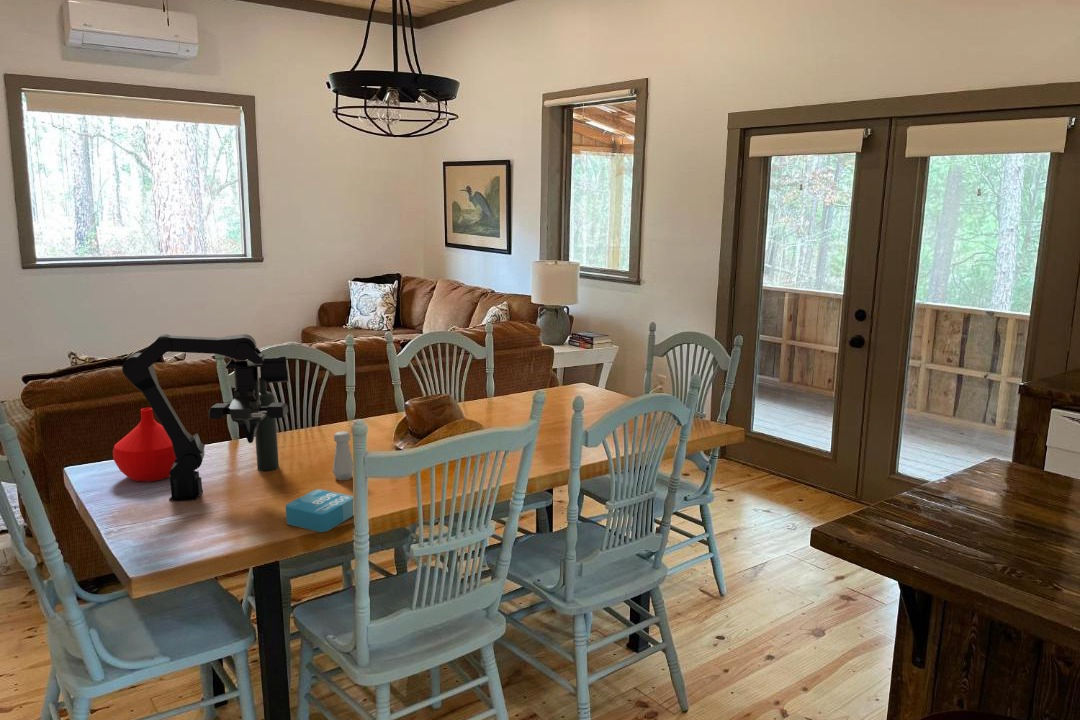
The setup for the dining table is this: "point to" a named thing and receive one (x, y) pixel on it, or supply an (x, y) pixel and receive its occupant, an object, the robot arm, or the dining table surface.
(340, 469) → the salt shaker
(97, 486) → the dining table surface
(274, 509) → the dining table surface
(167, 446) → the vase
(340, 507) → the data package
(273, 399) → the wine bottle
